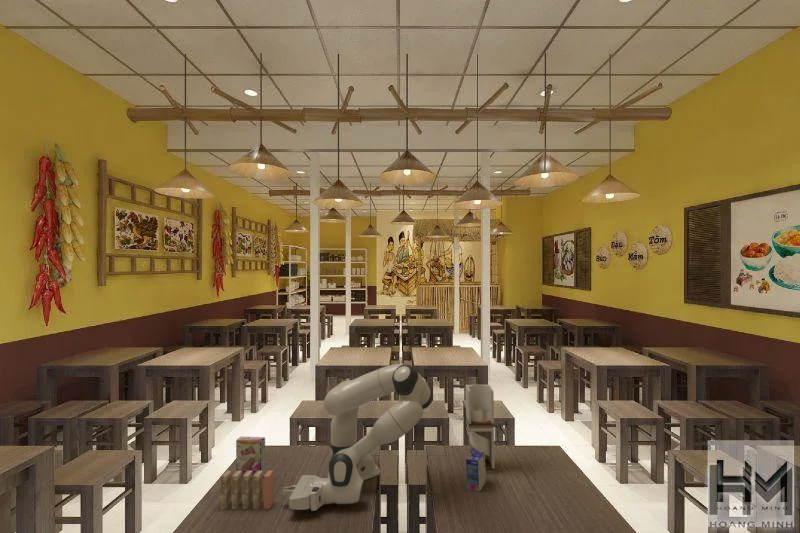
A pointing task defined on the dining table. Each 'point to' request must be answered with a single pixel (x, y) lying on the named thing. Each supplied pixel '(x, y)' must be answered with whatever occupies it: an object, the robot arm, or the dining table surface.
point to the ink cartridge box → (475, 470)
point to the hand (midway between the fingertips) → (283, 490)
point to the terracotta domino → (268, 490)
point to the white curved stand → (481, 422)
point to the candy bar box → (250, 454)
